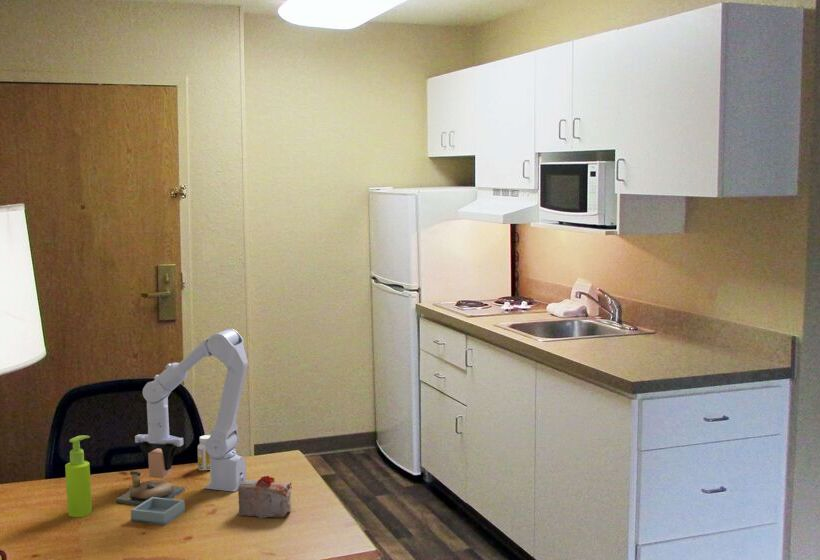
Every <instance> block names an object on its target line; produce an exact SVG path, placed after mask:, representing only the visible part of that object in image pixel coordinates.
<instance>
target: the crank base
mask: <svg viewBox="0 0 820 560" xmlns="http://www.w3.org/2000/svg"><path fill="white" fill-rule="evenodd" d="M183 491H184V492H185V491H186V487H185V486H177V485H172V491H171V492H170V493H169V494H167V495H165V496H162V497H159V498H167V499H172V498H173V499H174V498H176V497H177V496H178V495H180V494H182V493H183ZM175 496H176V497H175ZM146 500H148V499H137V498H133V497H131V496H130V490H129V491H127V492H126V493H123V494H122V495H120V496H118V497H116V498H115V503H116V502H119V503H118V504H125V503H127V504H126V505H136V506H138V505H140V504H141V503H143V502H145V501H146Z"/></svg>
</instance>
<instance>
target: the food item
mask: <svg viewBox="0 0 820 560" xmlns="http://www.w3.org/2000/svg"><path fill="white" fill-rule="evenodd" d="M292 487H293V482H291V481H275V477H273V476H269V475H266V476H265V475H264V476H261V477H260V479H246V480H245V481H243V483H241V484H240V485H239V487H238V490H237V492H238V495H237V496H238V515H239V516H242V517H243V516H249V517H257V518H258V519H267V518H268V517H269V518H283V517H285V516H286V515H287V514H288V513H289V512H291V510H292V497H291V496H292Z"/></svg>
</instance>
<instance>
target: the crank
mask: <svg viewBox="0 0 820 560" xmlns="http://www.w3.org/2000/svg"><path fill="white" fill-rule="evenodd" d="M141 473H142V472H141V471H133V470H132V471H130V473H129V474H130V476H131V480H132V481H131V482H132V486H130V488H129V491H130V496H131V497H133V498H137V499H150V498H151V497H158V498H159V497H162V496H165V495H167V494H169V493H170V492H171V491H172V486H173V485H172V484H171V483H170V482H168V481H164V480H148V481H142V482H141V475H142V474H141Z"/></svg>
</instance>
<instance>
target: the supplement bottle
mask: <svg viewBox="0 0 820 560" xmlns="http://www.w3.org/2000/svg"><path fill="white" fill-rule="evenodd" d="M210 436H211V434H206V435H205V434H204V435H201V436H199V444H198V445H197V465H198V466H197V467H198V470H199V471H201V470H210V455H209V454H208V453H207V451H206V447H205V445H206V441H207V440H208V439H209V437H210Z"/></svg>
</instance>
